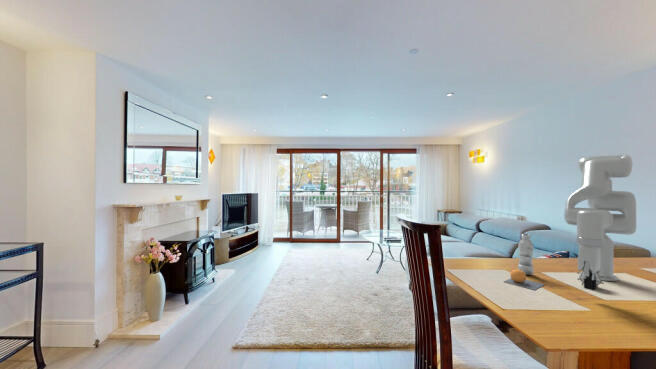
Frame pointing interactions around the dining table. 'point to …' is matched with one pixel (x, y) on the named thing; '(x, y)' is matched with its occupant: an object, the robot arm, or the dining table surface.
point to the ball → (518, 275)
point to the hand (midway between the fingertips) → (590, 288)
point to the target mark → (526, 284)
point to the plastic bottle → (525, 254)
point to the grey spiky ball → (598, 278)
